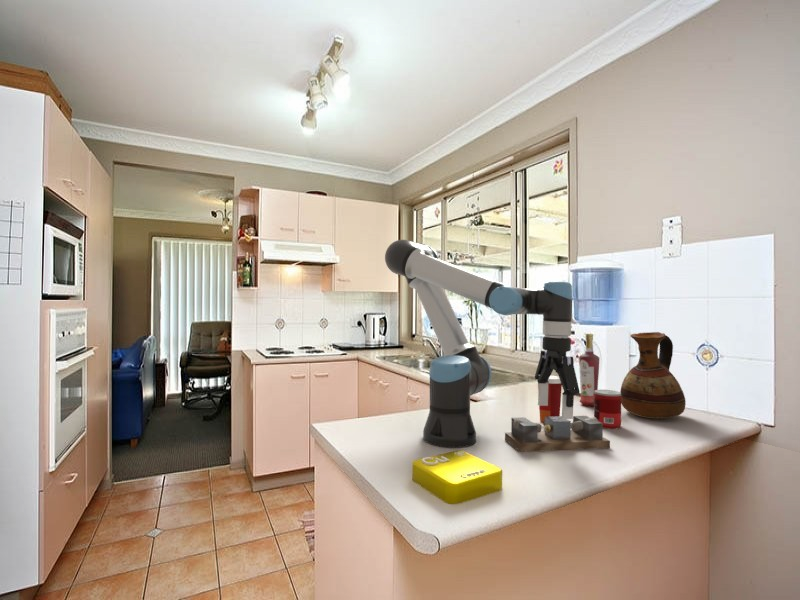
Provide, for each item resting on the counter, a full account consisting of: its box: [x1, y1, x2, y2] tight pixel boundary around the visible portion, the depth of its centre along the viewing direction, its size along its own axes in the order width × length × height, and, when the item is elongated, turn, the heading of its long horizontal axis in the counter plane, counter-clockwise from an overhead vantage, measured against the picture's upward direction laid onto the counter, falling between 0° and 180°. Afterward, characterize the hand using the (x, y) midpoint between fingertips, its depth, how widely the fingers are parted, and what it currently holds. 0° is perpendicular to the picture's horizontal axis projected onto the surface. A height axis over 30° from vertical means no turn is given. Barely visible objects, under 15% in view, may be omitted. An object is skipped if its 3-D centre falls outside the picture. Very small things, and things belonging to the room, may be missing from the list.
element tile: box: [411, 449, 503, 505], centre depth 90 cm, size 15×15×5 cm
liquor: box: [578, 333, 600, 408], centre depth 162 cm, size 7×7×28 cm
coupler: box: [544, 415, 572, 440], centre depth 116 cm, size 7×5×5 cm
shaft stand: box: [504, 415, 611, 453], centre depth 116 cm, size 26×10×7 cm, turn 98°
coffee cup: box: [535, 374, 563, 424], centre depth 138 cm, size 8×8×15 cm
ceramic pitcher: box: [619, 331, 687, 419], centre depth 148 cm, size 20×20×30 cm
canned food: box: [593, 389, 622, 430], centre depth 135 cm, size 8×8×11 cm
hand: (554, 411), depth 117 cm, fingers open, 13 cm apart
